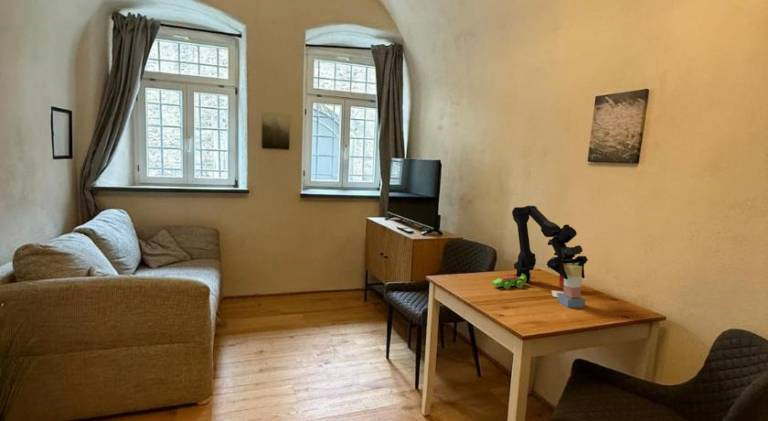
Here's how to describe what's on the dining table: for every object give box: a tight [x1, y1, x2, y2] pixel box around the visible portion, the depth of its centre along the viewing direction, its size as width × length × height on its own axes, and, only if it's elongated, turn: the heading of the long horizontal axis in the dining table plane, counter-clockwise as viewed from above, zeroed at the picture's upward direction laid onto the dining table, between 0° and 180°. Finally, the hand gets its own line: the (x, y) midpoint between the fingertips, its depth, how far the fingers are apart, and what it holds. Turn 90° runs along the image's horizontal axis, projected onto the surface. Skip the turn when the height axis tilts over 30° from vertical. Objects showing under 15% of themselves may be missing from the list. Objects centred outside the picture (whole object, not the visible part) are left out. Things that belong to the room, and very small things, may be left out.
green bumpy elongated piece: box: [491, 274, 527, 290], centre depth 209 cm, size 20×7×6 cm, turn 109°
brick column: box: [562, 264, 583, 298], centre depth 187 cm, size 5×5×14 cm
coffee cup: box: [558, 263, 572, 291], centre depth 210 cm, size 8×8×15 cm
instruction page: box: [551, 290, 564, 298], centre depth 200 cm, size 12×9×1 cm
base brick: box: [557, 293, 586, 309], centre depth 188 cm, size 8×8×4 cm
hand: (575, 278), depth 185 cm, fingers open, 9 cm apart
